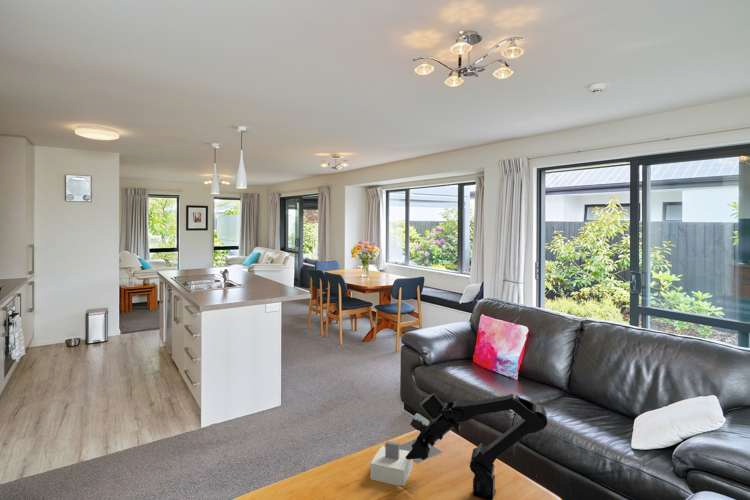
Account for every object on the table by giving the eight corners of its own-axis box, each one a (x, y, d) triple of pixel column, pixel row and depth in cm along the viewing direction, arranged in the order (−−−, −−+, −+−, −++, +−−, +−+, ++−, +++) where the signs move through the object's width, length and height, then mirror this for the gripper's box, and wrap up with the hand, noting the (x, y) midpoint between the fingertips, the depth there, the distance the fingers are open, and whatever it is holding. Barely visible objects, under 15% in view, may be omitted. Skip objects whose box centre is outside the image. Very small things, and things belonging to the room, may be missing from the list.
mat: (442, 452, 164) (442, 451, 164) (416, 464, 156) (416, 463, 156) (418, 438, 175) (418, 437, 175) (393, 448, 167) (394, 447, 167)
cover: (412, 467, 154) (413, 438, 153) (403, 486, 142) (404, 455, 141) (381, 460, 158) (381, 432, 157) (370, 479, 146) (370, 448, 146)
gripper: (429, 398, 153) (401, 422, 158) (418, 420, 136) (386, 446, 140) (450, 422, 151) (421, 445, 155) (441, 447, 133) (408, 473, 138)
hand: (409, 451), depth 147 cm, fingers open, 9 cm apart
